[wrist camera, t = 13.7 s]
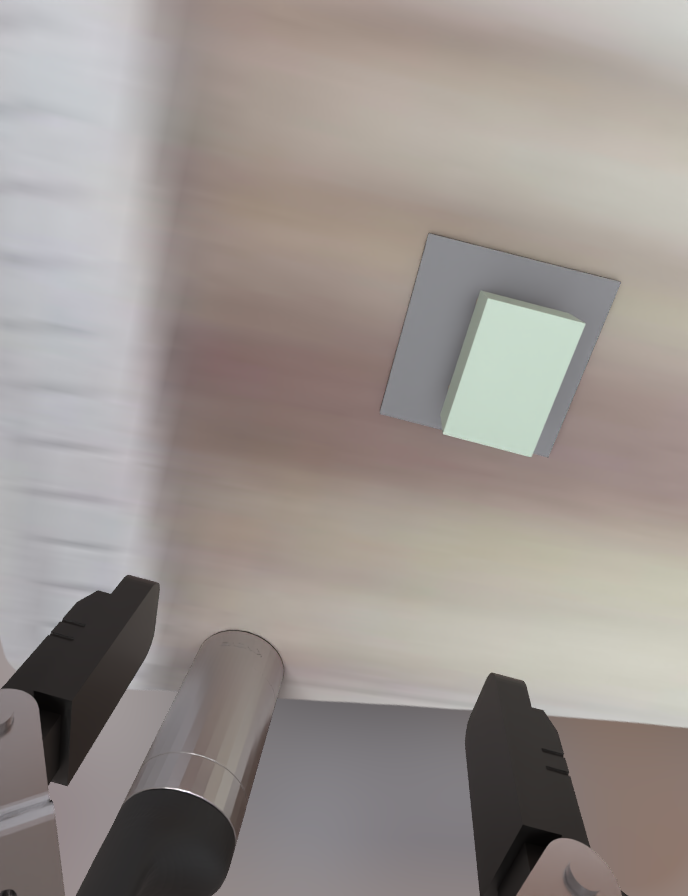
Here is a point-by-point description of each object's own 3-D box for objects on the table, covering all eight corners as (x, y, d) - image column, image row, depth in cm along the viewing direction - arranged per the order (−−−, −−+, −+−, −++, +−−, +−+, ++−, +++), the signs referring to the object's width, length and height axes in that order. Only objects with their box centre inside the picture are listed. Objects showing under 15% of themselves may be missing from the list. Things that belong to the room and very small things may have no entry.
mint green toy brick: (554, 304, 41) (585, 323, 34) (511, 417, 44) (531, 457, 37) (474, 283, 41) (487, 298, 34) (437, 398, 44) (442, 434, 37)
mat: (545, 451, 46) (548, 457, 45) (380, 409, 47) (379, 413, 46) (615, 280, 41) (621, 282, 40) (428, 232, 41) (428, 233, 40)
